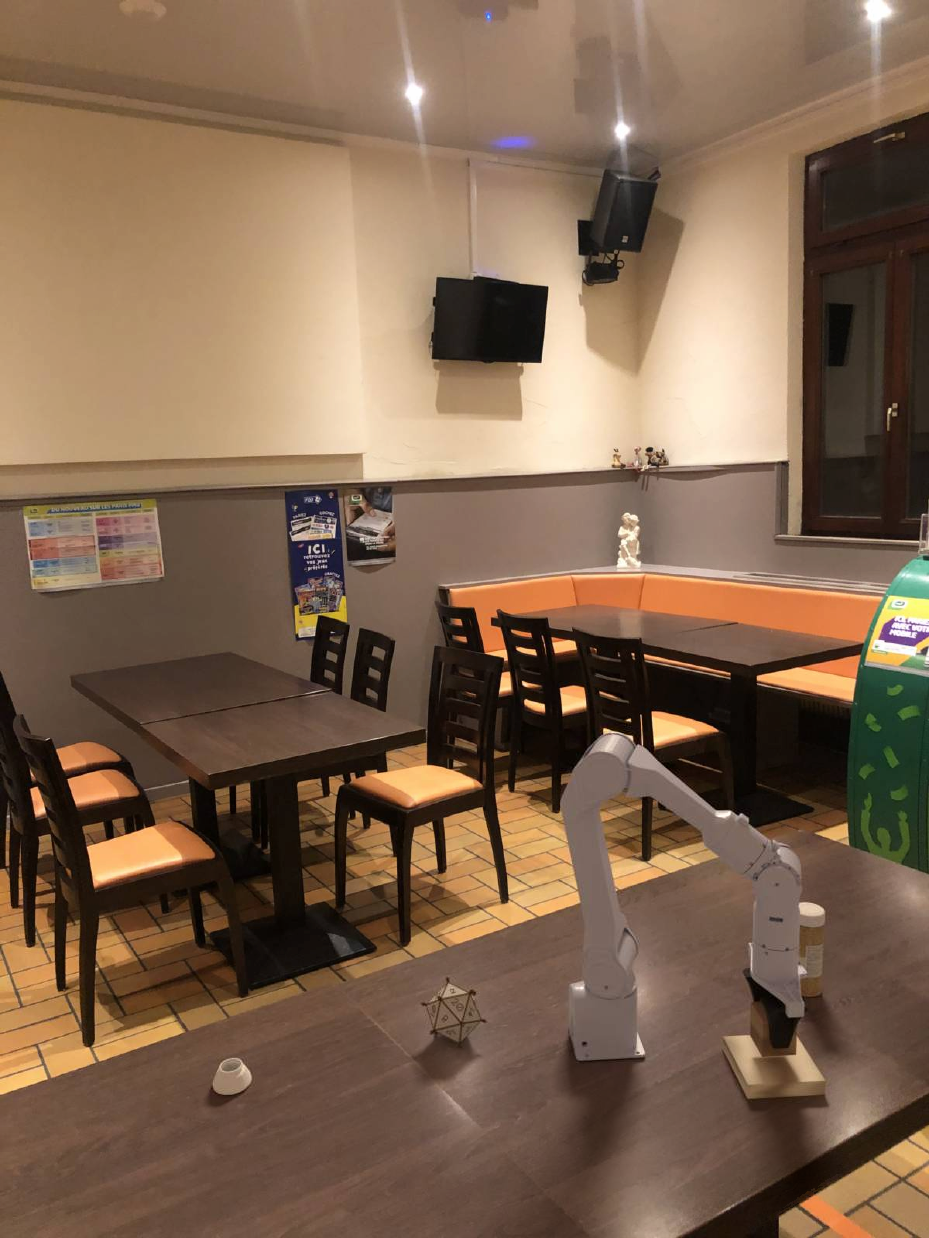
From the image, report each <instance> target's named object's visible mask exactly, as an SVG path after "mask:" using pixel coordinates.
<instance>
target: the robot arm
mask: <svg viewBox="0 0 929 1238" xmlns="http://www.w3.org/2000/svg"><path fill="white" fill-rule="evenodd" d="M572 769H573V770H572V773H571V775H570V778H569V780H568V783H567V784H566V787H565V789H564V791H563V794H562V796H561V798H560V802H559V804H560V812H561V817H562V822H563V827H564V831H565V836H566V841H567V846H568V850H569V856H570V859H571V864H572V865H571V866H572V870H573V874H574V878H575V882H576V888H577V893H578V898H579V901H580V902H579V903H580V907H581V911H582V918H583V921H584V936H583V946H582V947H583V954H584V963H583V966H582V970H581V977H582V980H581V981H577V982H574V983H569V985H568V1033H569V1037H570V1040H571V1043H572V1046H573V1051H574V1055H575V1059H576V1060H577V1061H581V1062H582V1061H583V1062H584V1061H598V1060H599V1061H601V1060H617V1059H620V1060H621V1059H631V1058H632V1059H637V1058H644V1057H645V1056H646V1051H645V1049H644V1046H643V1044H642V1041H641V1038H640V1035H639V1033H638V980H637V977H636V975H635V973H634V971H633V967H634V966H633V965H634V963H635V961H636V959H637V956H638V954H639V943H638V939H637V938H636V936H635V935H634V933H633V932H632V930H631V929H630V927H629V926H628V920H627V917H626V916H625V914H623V913H622V912H621V910H620V904H619V899H618V895H617V891H616V885H615V880H614V875H613V870H612V865H611V860H610V855H609V851H608V845H607V842H606V841H607V840H606V836H605V831H604V827H603V826H604V825H603V821H602V818H601V817H602V816H601V812H600V808H601V807H602V805H603V804H604V803H605V802H606V801H609V800H611V799H613V798H615V797H616V796H618V795H619V794H621V793H622V792H623V790H624V789H627V792H626V795H625V798H627V799H630V798H631V799H633V798H643V797H644V798H645V797H651V798H652V799H654V800H656V801H657V802H658V803H659V804H661V805H663V806H664V807H665V808H667V809H668V810H670V811H671V812H672V813H674V814H676V816H678V817H679V818H681V819H682V820H683V821H686V822H687V823H688V824H690V825H691V826H692V827H694V828H696V829H697V830H698V831H700V833H701V836H702V842H703V846H704V847H706V848H707V849H708V850H709V851H710V852H712V853H713V854H714V855H716V856H717V857H718V858H720V859H721V860H722V861H724V863H726V864H727V865H729V866H730V867H732V868H733V869H734V870H735V871H736V872H738V873H740V875H742V876H743V877H744V878H746V879H749V880H750V881H751V886H752V889H753V892H754V894H755V901H754V903H753V909H752V910H753V912H752V914H753V917H752V942H748V950H747V951H748V953H747V954H748V955H747V956H748V957H749V959H750V967H746V968H743V970H742V974H743V976H744V978H745V980H746V982H747V984H748V987H749V989H750V992H751V997H752V1002H758V1001H761V1003H762V1005H763V1007H764V1010H765V1012H766V1016H767V1020H768V1025H769V1035H770V1041H771V1044H772V1047H773V1048H774V1049H782V1048H789V1046H790V1043H791V1040H792V1037H793V1034H794V1031H795V1029H796V1026H797V1027H798V1024H799V1022H800V1021H801V1019H802V1018H803V1017H805V1014H806V1013H807V1012H808V1009H809V1003H808V1002H807V1001H806V999H805V998H804V997H803V996H801V987H800V979H802V978H806V977H807V972H806V970H805V969H804V968H803V967H802V966H799V965H798V961H799V931H800V908H799V903H801V901H800V900H801V899H800V898H801V895H802V893H803V886H802V865H801V861H800V858H799V856H798V854H797V853H796V852H795V851H794V850H793V849H792V848H791V846H790V845H788V844H785V843H782V842H778V841H777V840H775V839H772V840H770V839H769V838H768V837H766V836H765V835H764V834H762V833H761V832H759V831H758V830H757V829H756V828H755V827H753V826H752V825H751V824H749V823H750V818H749V817H748V816H746V815H745V814H744V813H739V815H737V814H736V813H735V812H733V811H732V810H727V809H726V810H716V809H715V808H714V807H712V806H711V805H710V804H709V803H708V802H706V800H704V799H703V798H702V797H700V795H698V793H696V792H695V791H693V790H692V789H691V788H690V787H689V786H688V785H686V783H684V782H683V781H682V780H681V779H680V778H679V777H677V776H676V775H675V774H673V773H672V772H671V771H670V770H668V768H666V767H665V766H664V765H663V764H662V763H661V762H660V761H658V760H657V759H656V757H655V756H654V755H653V754H652V753H651V752H649V750H648V749H647V748H646V747H644V746H642V745H640V744H637V745H636V743H635V742H634V741H633V739H631V737H629V736H628V735H626V734H624V733H621V732H618V731H609V732H606V733H604V734H601V735H600V736H599V737H598V738H597V739H596V740H595V741H594V742H593V743H592V744H591V745H590V746H589V747H588V748H587V749H586V750H585V752H584V754H583V755H582V756H581V759H580V760H579V761H578V762H577V764H576V765H575V767H574V768H572Z"/></svg>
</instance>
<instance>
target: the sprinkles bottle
mask: <svg viewBox="0 0 929 1238" xmlns="http://www.w3.org/2000/svg"><path fill="white" fill-rule="evenodd" d="M799 908H800V931H799V961H798V965H799V966H802V967H803V968H804V969H805V970H806V972H807V977H806V978H802V979H800V987H801V997H805V998H806V997H808V998H811V997H814V998H815V997H817V996H820V995H821V993H822V973H823V959H824V958H823V957H824V955H823V954H824V925H825V922H826V910H825V909H824V908H823V907H822V906H820V905H819V904H816V903H812V902H804V901H802V902H800V903H799Z"/></svg>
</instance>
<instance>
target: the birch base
mask: <svg viewBox="0 0 929 1238" xmlns="http://www.w3.org/2000/svg"><path fill="white" fill-rule="evenodd" d="M722 1041H723V1042H722V1050H723V1052H724V1055H725V1056H726V1058H727V1061H728V1062H729V1064H730V1067H731V1069H732V1071H733V1072H734V1075H735V1076H736V1078H737V1080H738V1082H739V1085H740V1086H741V1088H742V1090H743V1093H744V1094H745V1096H746V1098H747V1100H752V1099H771V1098H786V1097H787V1098H789V1097H804V1096H806V1097H808V1096H823V1095H825V1094H826V1079H825V1078H824V1076H823V1075H822V1073H821V1071H820V1070H819V1068H818V1067H817V1065H816V1064H815V1062H814V1060H813V1059H812V1057H811V1056H810V1054H809V1053H808V1051H807V1050H806V1048H805V1047H804V1045H803V1043H802V1041H801V1040H800V1039H799V1037H798V1036H797V1043H796V1055H787V1056H770V1057H762V1056H761V1054H760V1052H759V1051H758V1049H757V1047H756V1045H755V1044H754V1042H753V1040H752V1038H751V1036H750V1034H748V1035H745V1034H744V1035H732V1036H731V1035H730V1036H729V1035H727V1036H723V1038H722Z"/></svg>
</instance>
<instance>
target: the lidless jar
mask: <svg viewBox="0 0 929 1238" xmlns="http://www.w3.org/2000/svg"><path fill="white" fill-rule="evenodd" d="M252 1077H253V1076H252V1074H251V1071H250V1070H249V1069H248V1067H247V1066H246V1065H245V1063H243V1060H241V1059H240V1058H237V1057H231V1058H227V1059H225V1060H223V1061H222V1062H221V1063H220V1064H219V1066H218V1069H217V1071H216V1073H215V1075H214V1077H213V1081H212V1088H213V1091H214V1092H216V1093H217V1094H220V1095H223V1096H227V1095H228V1096H229V1095H235V1094H238V1093H241V1092H242V1091H244V1090H246V1089H247V1088H248V1087H249V1085H250V1084H251V1082H252Z"/></svg>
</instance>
